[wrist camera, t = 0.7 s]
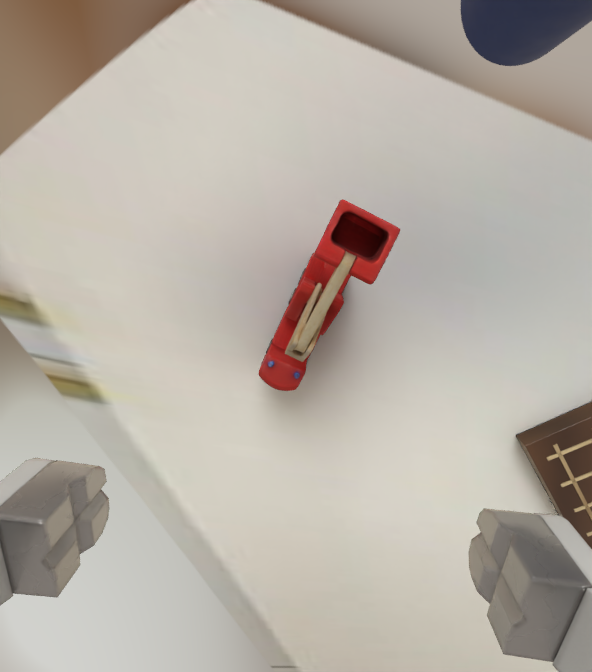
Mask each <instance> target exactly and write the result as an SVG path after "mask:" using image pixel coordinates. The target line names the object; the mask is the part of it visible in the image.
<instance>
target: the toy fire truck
mask: <svg viewBox="0 0 592 672" xmlns="http://www.w3.org/2000/svg"><path fill="white" fill-rule="evenodd" d="M399 232H400V229H399V228H398V227H396V226H394V225H392V224H391V223H389V222H387V221H385V220H383V219H380V218H379V217H377V216H375V215H373V214H371V213H369V212H367V211H365V210H363V209H361V208H359V207H357V206H355V205H353V204H351V203H349V202H347V201H346V200H343V199H342V200H340V202H339V204H338V206H337V208H336V210H335V212H334V214H333V216H332V218H331V220H330V222H329V224H328V226H327V228H326V230H325V232H324V235H323V237H322V239H321V241H320V243H319V245H318V247H317V249H316V251H315V253H313V254H312V256H311V258H310V260H309V263H308V265H307V267H306V268H305V269H304V271H303V273H302V275H301V278H300V280H299V283H298V287H297V288H296V289H295V290H294V292H293V294H292V296H291V298H290V301H289V306H288V307H287V309H286V311H285V313H284V315H283V318H282V320H281V322H280V324H279V326H278V329H277V331H276V333H275V335H274V338H273V339H272V340H271V342H270V344H269V347H268V349H267V351H266V355H265V357H264V359H263V361H262V364H261V367H260V370H259V376H260V377H261V378H262V380H263V381H264V382H266V383H267V384H268V385H269V386H271V387H273V388H275V389H277V390H282V391H290V390H295V389H296V388H297V387H298V385H299V384H300V382H301V380H302V378H303V376H304V374H305V371H306V363H307V360H308V358H309V356H310V354H311V352H312V350H313V348H314V346H315V344H316V342H317V340H318V338H319V336H320V334H321V335H323V334H324V333H325V332H326V330H327V329H328V327H329V326H330V324H331V323H332V321H333V320H334V318H335V317H336V316H337V314H338V312H339V311H340V309H341V307H342V305H343V304H344V300H343V297H342V293H343V291H344V288H345V286H346V284H347V282H348V280H349V278H350V276H351V275H352V276H354V277H356V278H358V279H359V280H362V281H363V282H365V283H367V284H373V283H374V281H375V280H376V278H377V276H378V273H379V272H380V270H381V268H382V266H383V264H384V262H385V260H386V258H387V257H388V255H389V252H390V251H391V248H392V247H393V244H394V242H395V241H396V239H397V236H398V235H399Z"/></svg>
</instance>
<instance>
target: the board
mask: <svg viewBox="0 0 592 672" xmlns="http://www.w3.org/2000/svg"><path fill="white" fill-rule="evenodd" d="M516 437H517V439H518V440H519V442H520V444H521V446H522V448H523V450H524V451H525V453H526V455H527V457H528V459H529V461H530V463H531V464H532V466H533V468H534V470H535V472H536V474H537V475H538V477H539V479H540V481H541V483H542V485H543V486H544V488H545V490H546V492H547V494H548V496H549V498H550V499H551V501H552V503H553V505H554V507H555V509H556V510H557V512H558V514H559V515H560V516H562V517H563V518H565V519H566V520H568V521H569V522H570V524H571V525H572V526H573V527H574V528H575V530H576V531H577V532H578V533H579V535H580V536H581V537H582V538H583V539H584V541H585V542H586V543H587V544H588V545H589V547H590V548H591V549H592V402H590V403H588V404H586V405H584V406H581V407H579V408H577V409H574V410H572V411H570V412H568V413H565V414H563V415H561V416H559V417H556V418H554V419H552V420H550V421H547V422H545V423H543V424H541V425H538V426H536V427H534V428H532V429H529V430H527V431H525V432H523V433H520V434H518V435H516Z"/></svg>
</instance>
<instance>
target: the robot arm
mask: <svg viewBox="0 0 592 672" xmlns="http://www.w3.org/2000/svg"><path fill="white" fill-rule="evenodd" d="M105 483H106V475H105V469H104V468H102V467H100V466H94V465H88V464H79V463H73V462H66V461H58V460H56V461H53V460H47V459H40V458H33V459H29V460H26V461H25V462H24V463H22V464H21V465H20V466H19V467H17V468H16V469H15V470H14V471H12V472H11V473H10V474H9V475H7V476H6V477H5V478H4V479H2V480H1V481H0V605H1V604H3V603H4V602H6V601H7V600H8V599H10V598H11V597H12V596H13V593H15V594H26V595H36V596H47V597H58V596H59V594H60V593H61V591H62V590H63V589H64V587H65V586H66V585H67V583H68V582H69V580H70V579H71V577H72V576H73V575H74V573H75V572H76V570H77V569H78V567H79V566H80V554H81V553H82V552H84V551H86V550H87V549H89V548H91V547H92V546H94V545H95V543H96V542H97V540H98V539H99V537H100V536H101V534H102V533H103V530H104V527H105V525H106V522H107V520H108V514H109V500H108V499H109V498H108V497H107V496H106V495H105V494H104V492H103V491H102V490H101V488H102V487H103V486H104V484H105ZM477 525H478V527H479V529H480V531H481V533H480V534H478V535H477V536H476V537H474V538H473V539H472V540H471V544H470V548H469V568H470V572H471V576H472V580H473V582H474V585H475V587H476V590H477V592H478V593H479V594H480V595H481V596H482V597H483V598H484V599H485V600H486V601H488V602H489V603H490V606H489V609H488V613H487V616H488V619H489V621H490V623H491V626H492V628H493V630H494V633H495V635H496V638H497V640H498V642H499V645H500V647H501V649H502V652H503V654H506V655H512V656H518V657H524V658H531V659H537V660H543V661H550V662H553V666H554V667H555V668H556V669H557V670H558V671H559V672H592V549H591V548H590V547H589V545H588V544H587V543H586V542H585V541H584V539H583V538H582V537H581V536H580V535H579V533H578V532H577V531H576V530H575V528H574V527H573V526H572V525H571V524H570V522H569V521H568V520H566V519H565V518H563V517H562V516H560V515H550V514H539V513H534V514H532V513H524V512H515V511H505V510H495V509H485V508H484V509H483V510H482V511H481V512H480V514H479V517H478V520H477Z"/></svg>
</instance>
